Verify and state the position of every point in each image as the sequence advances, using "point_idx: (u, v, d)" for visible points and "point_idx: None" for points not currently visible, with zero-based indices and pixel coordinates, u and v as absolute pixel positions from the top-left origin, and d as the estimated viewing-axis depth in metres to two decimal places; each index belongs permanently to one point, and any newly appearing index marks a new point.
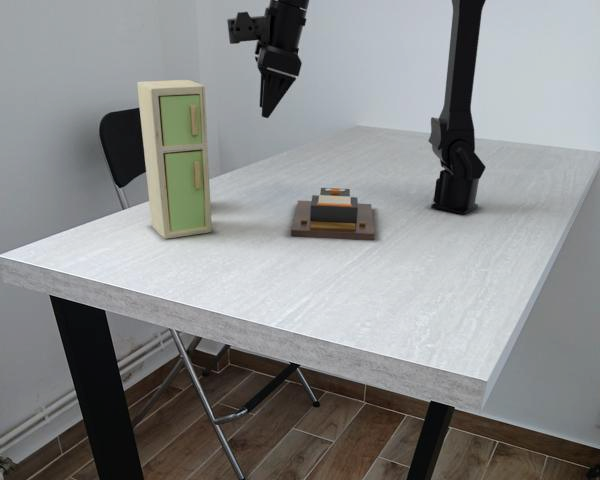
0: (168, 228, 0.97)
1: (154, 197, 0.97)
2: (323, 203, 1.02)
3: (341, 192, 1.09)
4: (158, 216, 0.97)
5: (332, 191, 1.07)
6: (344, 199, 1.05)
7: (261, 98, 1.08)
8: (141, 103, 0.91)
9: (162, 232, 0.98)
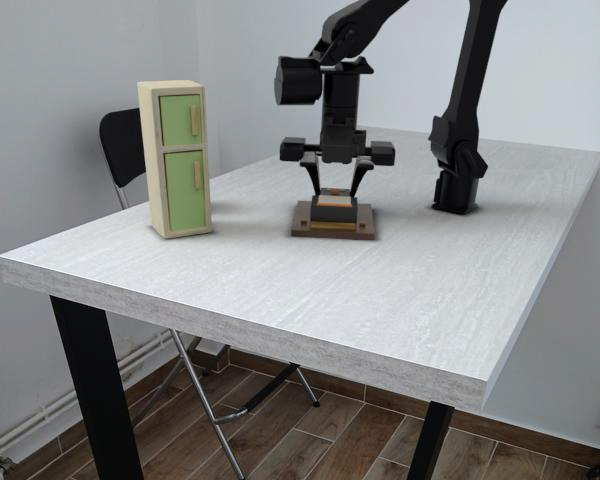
0: (168, 228, 0.97)
1: (154, 197, 0.97)
2: (323, 203, 1.02)
3: (341, 192, 1.09)
4: (158, 216, 0.97)
5: (332, 191, 1.07)
6: (344, 199, 1.05)
7: None
8: (141, 103, 0.91)
9: (162, 232, 0.98)
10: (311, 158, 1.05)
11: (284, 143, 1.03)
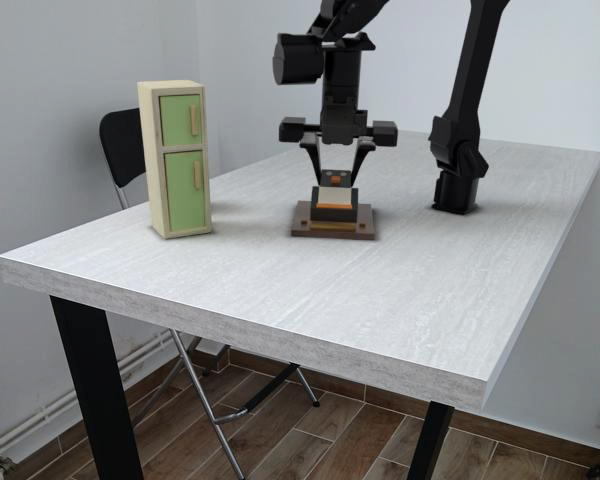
0: (168, 228, 0.97)
1: (154, 197, 0.97)
2: (323, 204, 1.01)
3: (342, 178, 1.06)
4: (158, 216, 0.97)
5: (333, 180, 1.05)
6: (344, 194, 1.03)
7: (320, 177, 1.06)
8: (141, 103, 0.91)
9: (162, 232, 0.98)
10: (311, 139, 1.02)
11: (283, 123, 1.00)
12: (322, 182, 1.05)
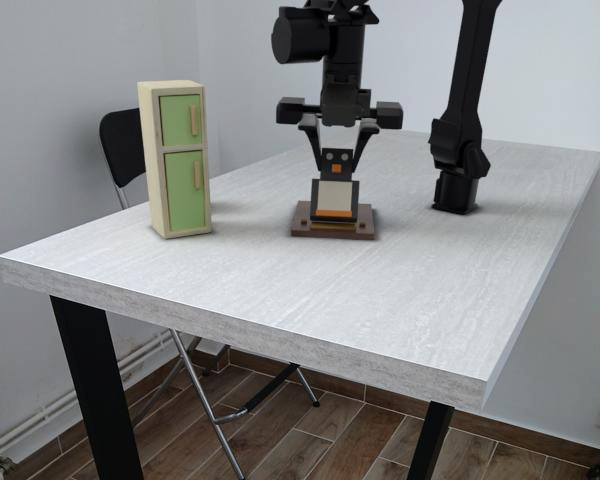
0: (168, 228, 0.97)
1: (154, 197, 0.97)
2: (322, 211, 1.00)
3: (343, 164, 1.01)
4: (158, 216, 0.97)
5: (333, 171, 1.00)
6: (345, 194, 1.00)
7: (320, 162, 1.00)
8: (141, 103, 0.91)
9: (162, 232, 0.98)
10: (311, 121, 0.95)
11: (281, 104, 0.94)
12: (322, 172, 1.01)
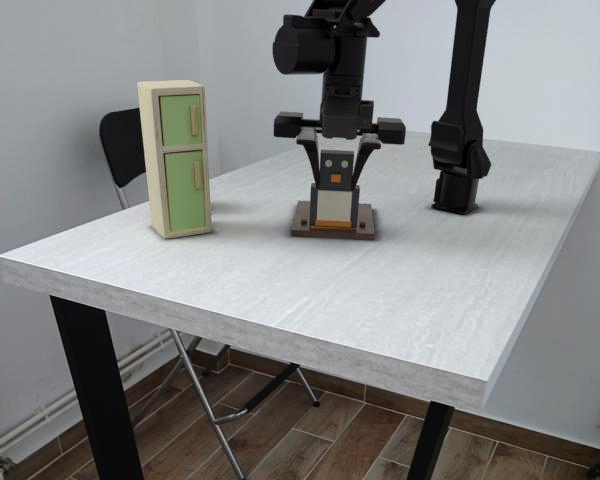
0: (168, 228, 0.97)
1: (154, 197, 0.97)
2: (322, 221, 1.00)
3: (343, 171, 0.96)
4: (158, 216, 0.97)
5: (332, 181, 0.97)
6: (344, 204, 0.99)
7: (319, 179, 0.96)
8: (141, 103, 0.91)
9: (162, 232, 0.98)
10: (310, 135, 0.92)
11: (279, 116, 0.90)
12: (321, 180, 0.97)
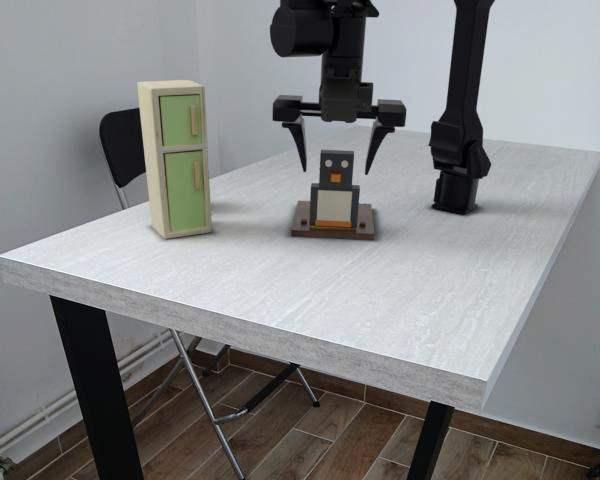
0: (168, 228, 0.97)
1: (154, 197, 0.97)
2: (322, 221, 1.00)
3: (343, 171, 0.96)
4: (158, 216, 0.97)
5: (332, 181, 0.97)
6: (344, 204, 0.99)
7: (306, 162, 0.95)
8: (141, 103, 0.91)
9: (162, 232, 0.98)
10: None
11: (278, 100, 0.89)
12: (321, 180, 0.97)
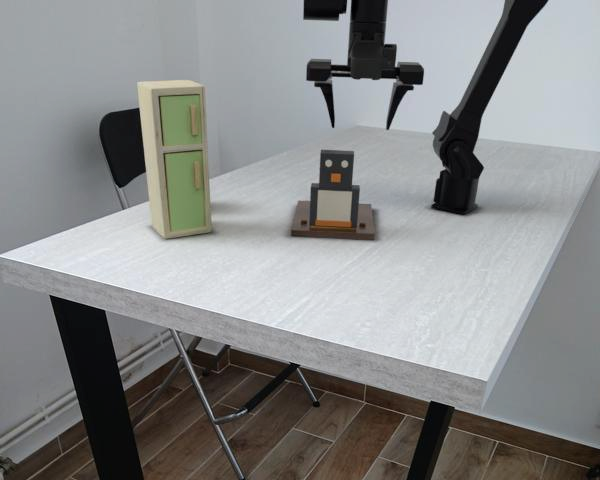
0: (168, 228, 0.97)
1: (154, 197, 0.97)
2: (322, 221, 1.00)
3: (343, 171, 0.96)
4: (158, 216, 0.97)
5: (332, 181, 0.97)
6: (344, 204, 0.99)
7: (334, 119, 1.08)
8: (141, 103, 0.91)
9: (162, 232, 0.98)
10: None
11: (311, 62, 1.02)
12: (321, 180, 0.97)
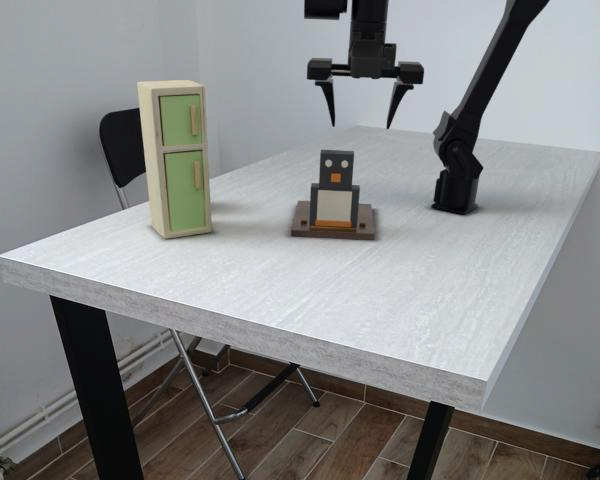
0: (168, 228, 0.97)
1: (154, 197, 0.97)
2: (322, 221, 1.00)
3: (343, 171, 0.96)
4: (158, 216, 0.97)
5: (332, 181, 0.97)
6: (344, 204, 0.99)
7: None
8: (141, 103, 0.91)
9: (162, 232, 0.98)
10: None
11: (312, 61, 1.02)
12: (321, 180, 0.97)
